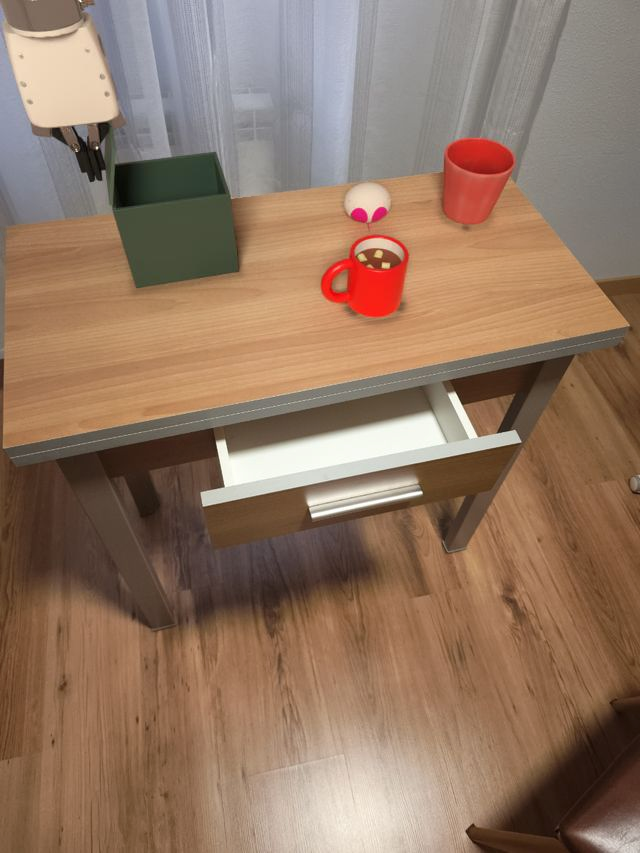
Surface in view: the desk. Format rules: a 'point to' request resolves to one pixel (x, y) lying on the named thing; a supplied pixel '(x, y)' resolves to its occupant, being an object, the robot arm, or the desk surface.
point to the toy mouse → (367, 202)
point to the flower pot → (474, 178)
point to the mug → (370, 276)
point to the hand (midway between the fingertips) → (95, 175)
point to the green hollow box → (175, 218)
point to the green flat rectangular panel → (110, 163)
